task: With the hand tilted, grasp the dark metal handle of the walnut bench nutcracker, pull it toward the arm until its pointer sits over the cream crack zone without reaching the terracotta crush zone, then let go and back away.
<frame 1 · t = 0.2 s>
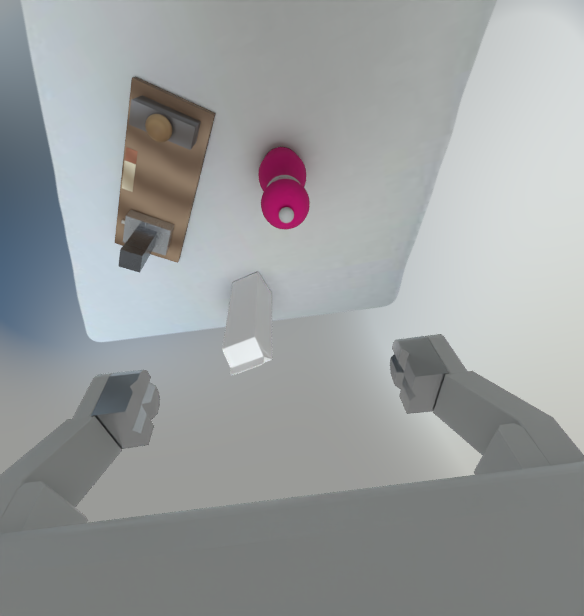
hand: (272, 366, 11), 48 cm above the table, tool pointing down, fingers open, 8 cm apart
milk: (252, 286, 67), on the table
pepper mill: (281, 167, 52), on the table
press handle: (137, 243, 51), point 7 cm above the table, slide at 0.0 cm
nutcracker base: (161, 182, 53), on the table
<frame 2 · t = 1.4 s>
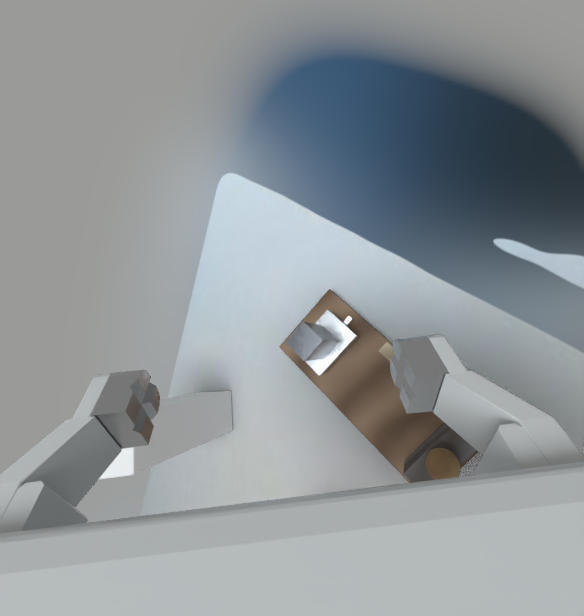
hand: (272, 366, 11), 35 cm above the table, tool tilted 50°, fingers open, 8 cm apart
milk: (216, 410, 51), on the table
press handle: (320, 338, 39), point 7 cm above the table, slide at 0.0 cm
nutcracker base: (374, 384, 43), on the table
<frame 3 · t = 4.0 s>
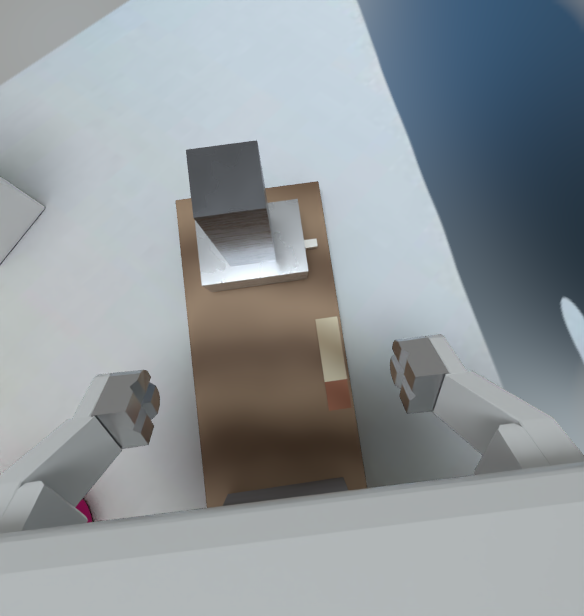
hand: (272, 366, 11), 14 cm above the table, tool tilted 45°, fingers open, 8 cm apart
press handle: (253, 224, 19), point 7 cm above the table, slide at 0.0 cm
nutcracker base: (270, 360, 25), on the table
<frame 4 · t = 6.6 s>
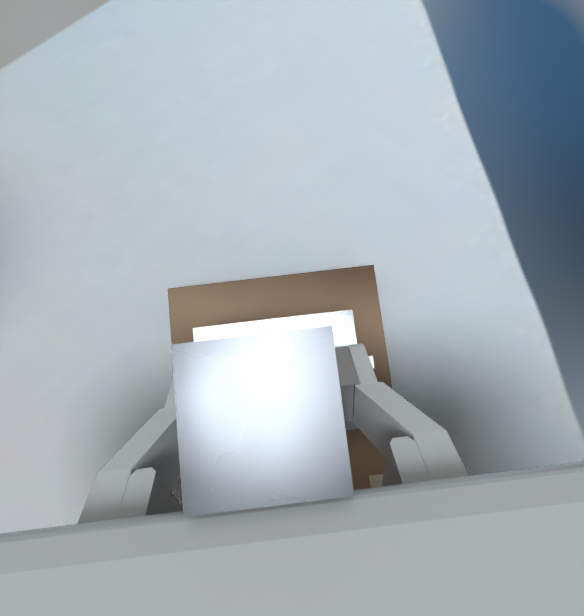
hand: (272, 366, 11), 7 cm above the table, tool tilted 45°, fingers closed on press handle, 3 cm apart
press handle: (291, 382, 11), point 7 cm above the table, slide at 0.0 cm, touching gripper
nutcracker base: (299, 522, 17), on the table
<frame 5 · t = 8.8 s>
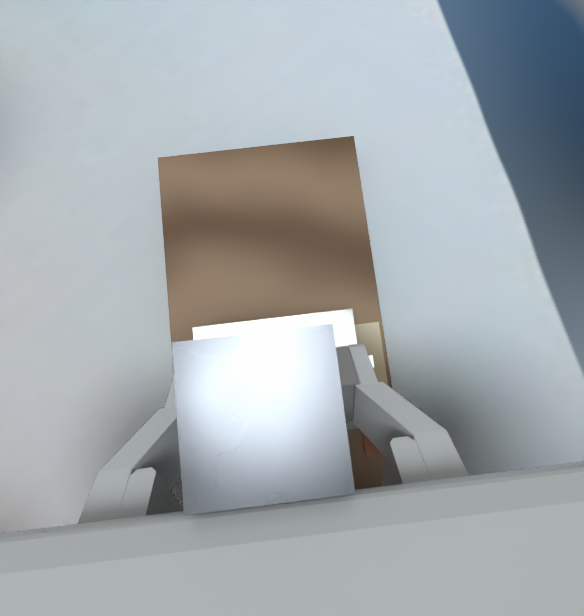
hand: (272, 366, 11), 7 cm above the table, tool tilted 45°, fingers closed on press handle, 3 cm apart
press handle: (291, 381, 11), point 7 cm above the table, slide at 7.4 cm, touching gripper
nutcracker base: (283, 379, 18), on the table
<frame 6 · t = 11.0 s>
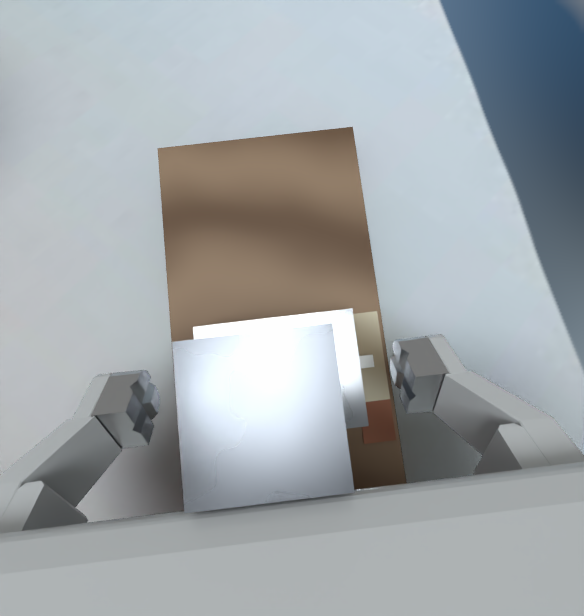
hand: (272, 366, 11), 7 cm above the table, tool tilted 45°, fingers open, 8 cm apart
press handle: (291, 380, 11), point 7 cm above the table, slide at 8.0 cm
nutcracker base: (282, 369, 18), on the table
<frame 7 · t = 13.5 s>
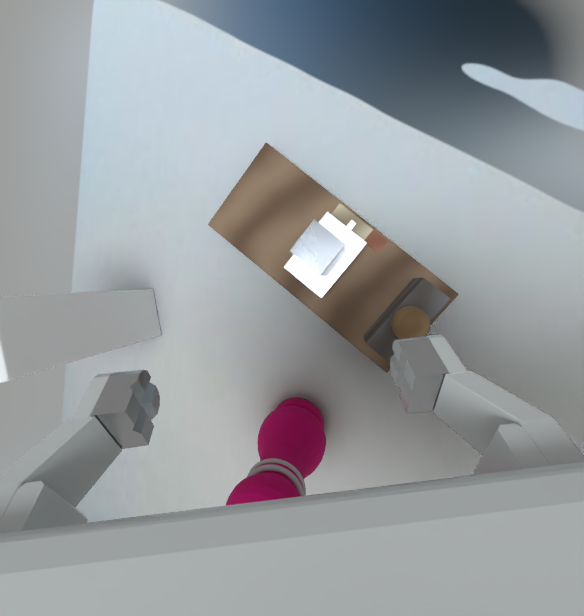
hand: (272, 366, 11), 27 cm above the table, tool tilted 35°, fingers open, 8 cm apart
milk: (137, 315, 41), on the table
pepper mill: (298, 421, 39), on the table
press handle: (326, 248, 29), point 7 cm above the table, slide at 8.0 cm
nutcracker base: (327, 258, 36), on the table
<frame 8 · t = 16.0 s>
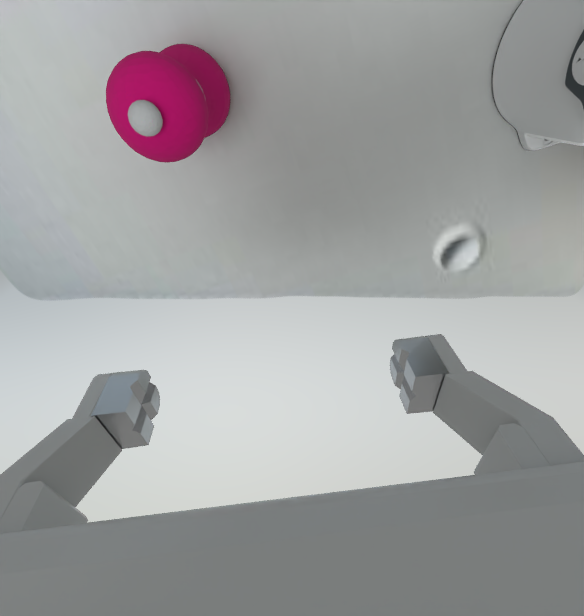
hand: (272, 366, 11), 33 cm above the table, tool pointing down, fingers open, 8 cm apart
pepper mill: (197, 90, 33), on the table
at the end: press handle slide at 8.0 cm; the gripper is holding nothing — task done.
